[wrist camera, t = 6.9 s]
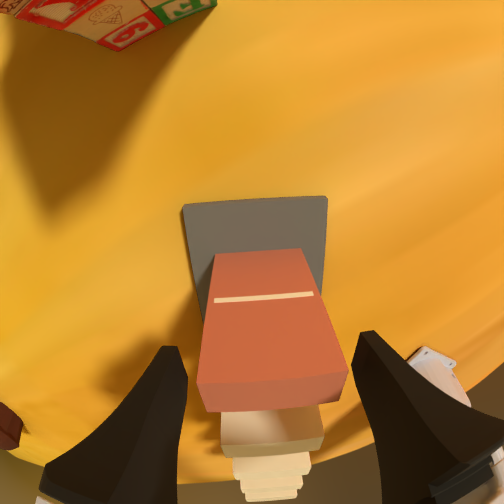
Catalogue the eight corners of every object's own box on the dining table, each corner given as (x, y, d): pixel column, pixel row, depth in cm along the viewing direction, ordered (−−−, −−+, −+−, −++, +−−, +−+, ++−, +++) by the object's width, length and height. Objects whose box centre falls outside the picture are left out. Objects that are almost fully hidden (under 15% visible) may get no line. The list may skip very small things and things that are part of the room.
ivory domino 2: (292, 382, 22) (307, 474, 14) (235, 386, 22) (236, 479, 14) (294, 368, 21) (311, 466, 13) (233, 372, 21) (232, 473, 13)
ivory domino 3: (289, 411, 25) (300, 488, 17) (240, 414, 25) (242, 493, 17) (290, 401, 24) (303, 484, 16) (239, 405, 24) (240, 488, 16)
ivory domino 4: (287, 431, 27) (295, 498, 19) (244, 435, 27) (247, 501, 19) (288, 424, 26) (297, 494, 18) (243, 428, 26) (245, 498, 18)
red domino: (299, 277, 17) (338, 401, 9) (219, 283, 17) (207, 412, 9) (300, 247, 16) (348, 369, 8) (215, 253, 16) (196, 382, 8)
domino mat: (298, 429, 28) (299, 433, 28) (233, 434, 28) (233, 438, 28) (324, 195, 15) (327, 198, 15) (184, 204, 15) (182, 207, 15)
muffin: (24, 428, 36) (13, 459, 27) (-11, 400, 32) (-25, 430, 24) (30, 422, 33) (16, 457, 24) (-11, 389, 29) (-28, 423, 20)
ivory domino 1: (296, 339, 20) (319, 449, 12) (228, 344, 20) (225, 457, 12) (297, 319, 19) (325, 436, 11) (225, 324, 19) (220, 444, 11)
